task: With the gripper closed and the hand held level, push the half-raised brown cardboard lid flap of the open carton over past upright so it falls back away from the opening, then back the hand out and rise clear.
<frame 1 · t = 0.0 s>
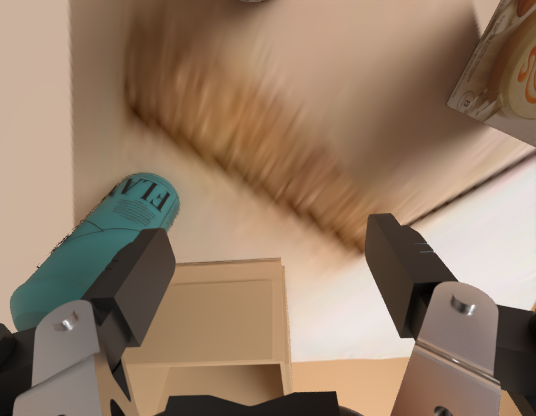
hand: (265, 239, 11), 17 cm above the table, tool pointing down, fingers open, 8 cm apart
beverage bottle: (156, 190, 30), on the table
carton: (223, 300, 40), on the table
coffee box: (506, 56, 22), on the table
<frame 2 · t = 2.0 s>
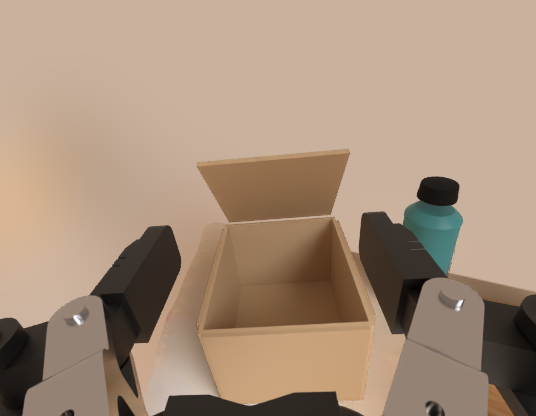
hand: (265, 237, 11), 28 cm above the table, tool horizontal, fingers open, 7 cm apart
beverage bottle: (411, 302, 41), on the table
carton flap: (276, 193, 33), point 20 cm above the table, hinge at 55.0°
carton: (288, 331, 39), on the table
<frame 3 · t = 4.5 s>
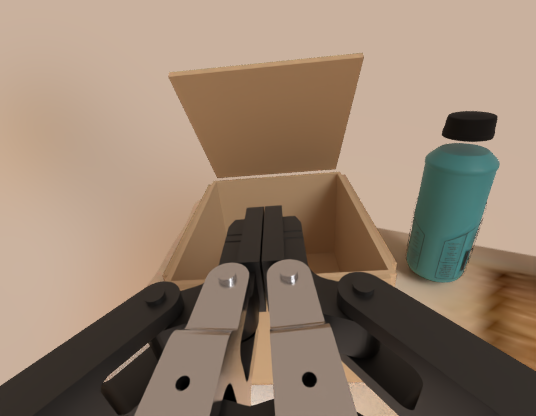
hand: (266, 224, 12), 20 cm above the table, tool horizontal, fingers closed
beverage bottle: (429, 274, 35), on the table
carton flap: (271, 131, 27), point 20 cm above the table, hinge at 55.0°
carton: (284, 305, 33), on the table
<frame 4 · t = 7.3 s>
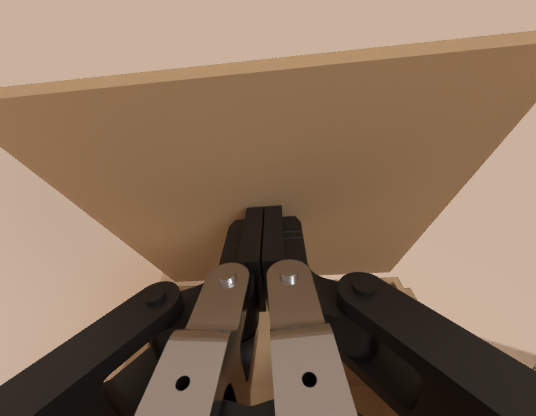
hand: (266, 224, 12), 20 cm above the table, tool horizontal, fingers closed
carton flap: (269, 221, 13), point 20 cm above the table, hinge at 61.3°, touching gripper
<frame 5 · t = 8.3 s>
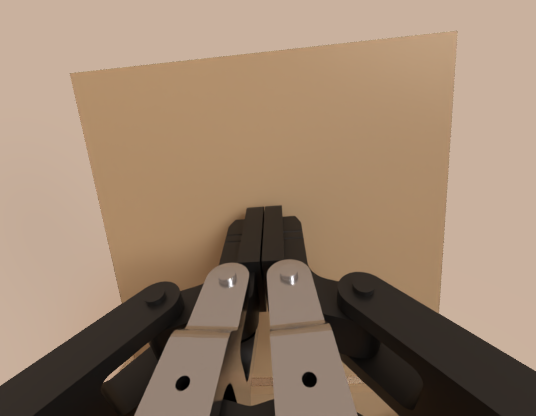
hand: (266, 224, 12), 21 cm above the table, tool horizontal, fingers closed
carton flap: (269, 236, 12), point 20 cm above the table, hinge at 105.1°, touching gripper
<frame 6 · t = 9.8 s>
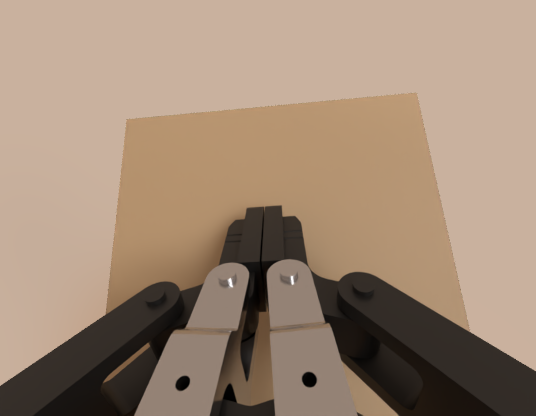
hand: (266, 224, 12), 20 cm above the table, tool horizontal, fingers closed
carton flap: (273, 253, 12), point 18 cm above the table, hinge at 135.2°, touching gripper
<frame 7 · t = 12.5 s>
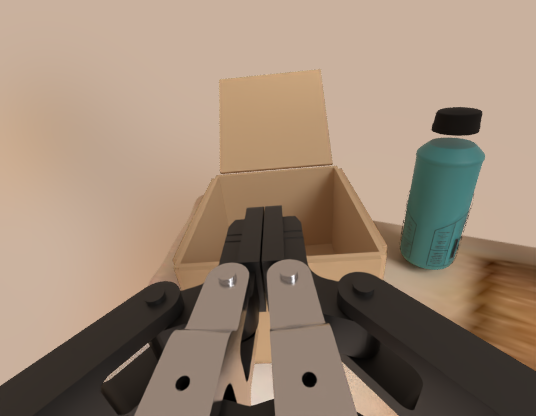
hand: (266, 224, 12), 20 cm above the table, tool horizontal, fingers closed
beverage bottle: (422, 263, 37), on the table
carton flap: (272, 119, 38), point 18 cm above the table, hinge at 135.2°
carton: (284, 292, 34), on the table
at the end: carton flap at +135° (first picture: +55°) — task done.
